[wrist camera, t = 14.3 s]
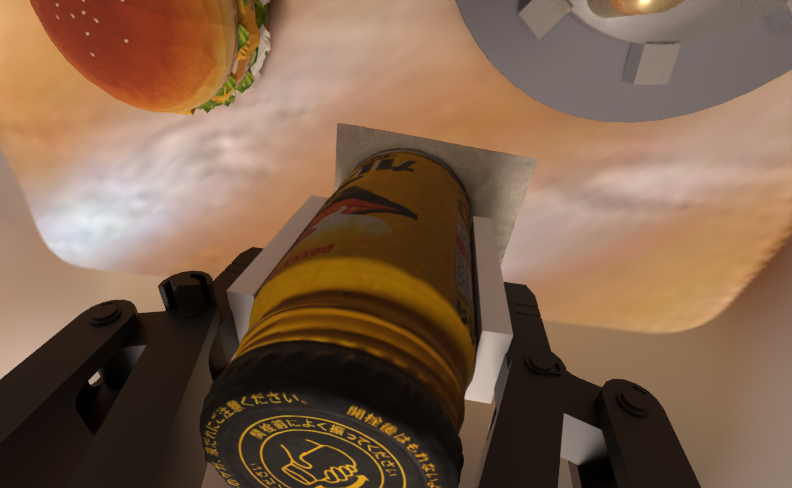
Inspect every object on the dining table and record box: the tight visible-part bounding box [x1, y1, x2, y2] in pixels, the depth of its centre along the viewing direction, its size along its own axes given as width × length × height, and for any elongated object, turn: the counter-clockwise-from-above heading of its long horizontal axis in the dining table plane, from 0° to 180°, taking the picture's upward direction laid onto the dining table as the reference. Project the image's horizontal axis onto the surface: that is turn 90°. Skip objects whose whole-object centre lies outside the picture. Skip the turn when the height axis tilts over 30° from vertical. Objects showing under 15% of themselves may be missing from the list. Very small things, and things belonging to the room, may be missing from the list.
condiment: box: [199, 123, 538, 488], centre depth 12 cm, size 7×8×12 cm
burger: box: [30, 0, 271, 115], centre depth 23 cm, size 13×14×10 cm
